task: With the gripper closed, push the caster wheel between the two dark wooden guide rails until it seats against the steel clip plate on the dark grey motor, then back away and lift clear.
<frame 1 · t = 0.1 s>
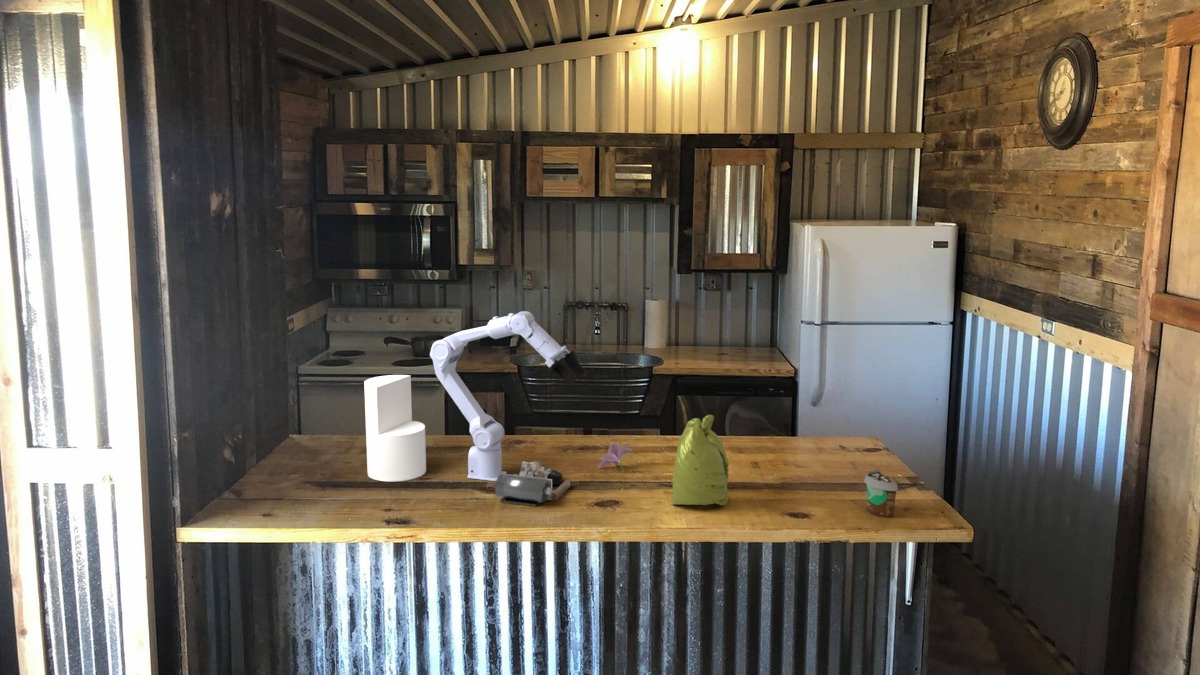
hand: (578, 378, 257), 32 cm above the table, tool tilted 50°, fingers open, 7 cm apart
lily: (615, 470, 278), on the table
caster wheel: (541, 484, 265), on the table
motor mount: (534, 490, 259), on the table
cylinder: (397, 472, 274), on the table
food container: (875, 512, 245), on the table
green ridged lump: (700, 497, 256), on the table
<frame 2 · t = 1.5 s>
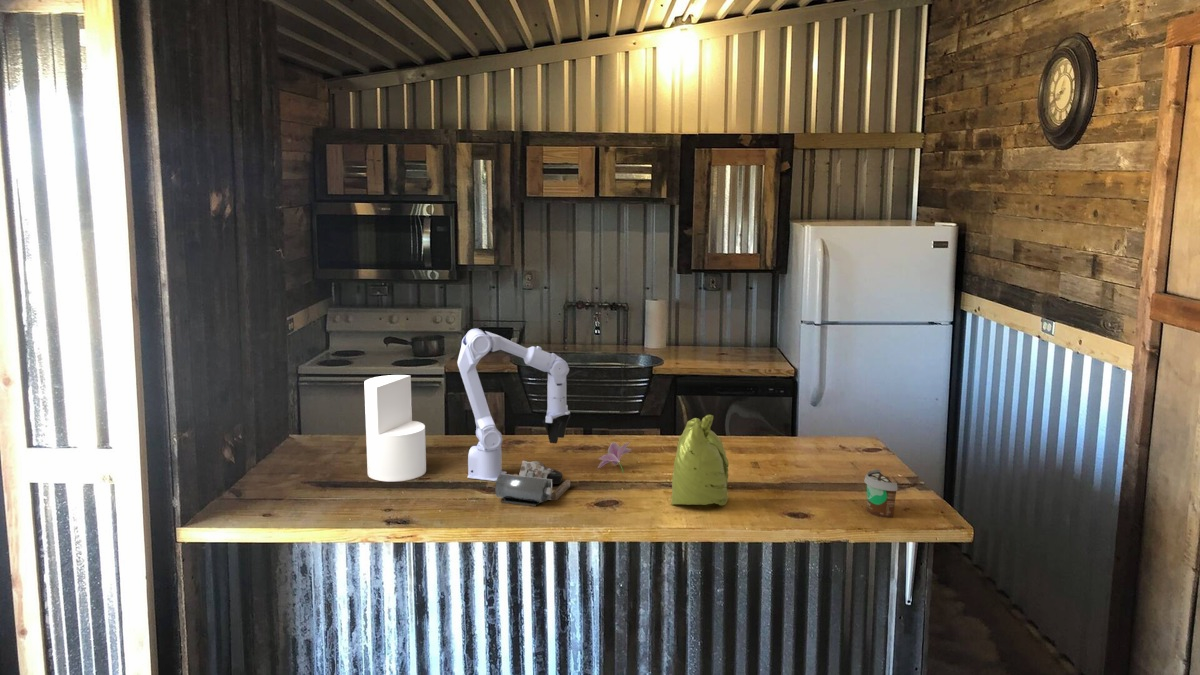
hand: (556, 440, 276), 9 cm above the table, tool pointing down, fingers open, 6 cm apart
nothing on the table moved.
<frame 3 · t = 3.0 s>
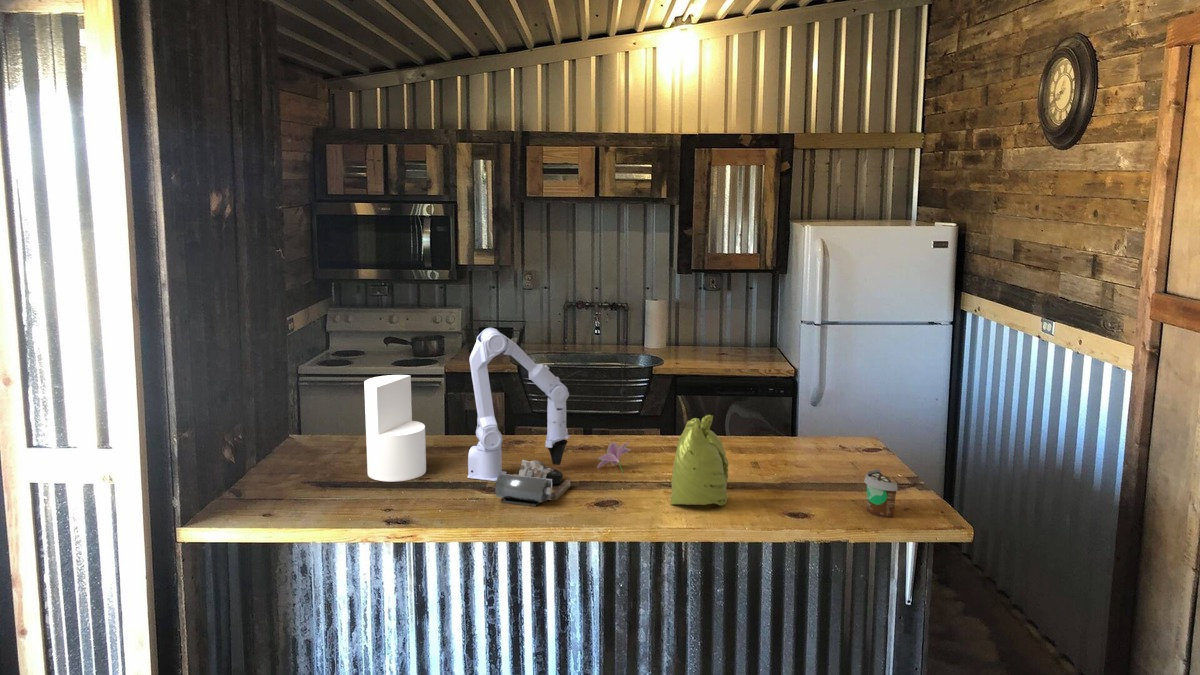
hand: (556, 464, 277), 2 cm above the table, tool pointing down, fingers closed
nothing on the table moved.
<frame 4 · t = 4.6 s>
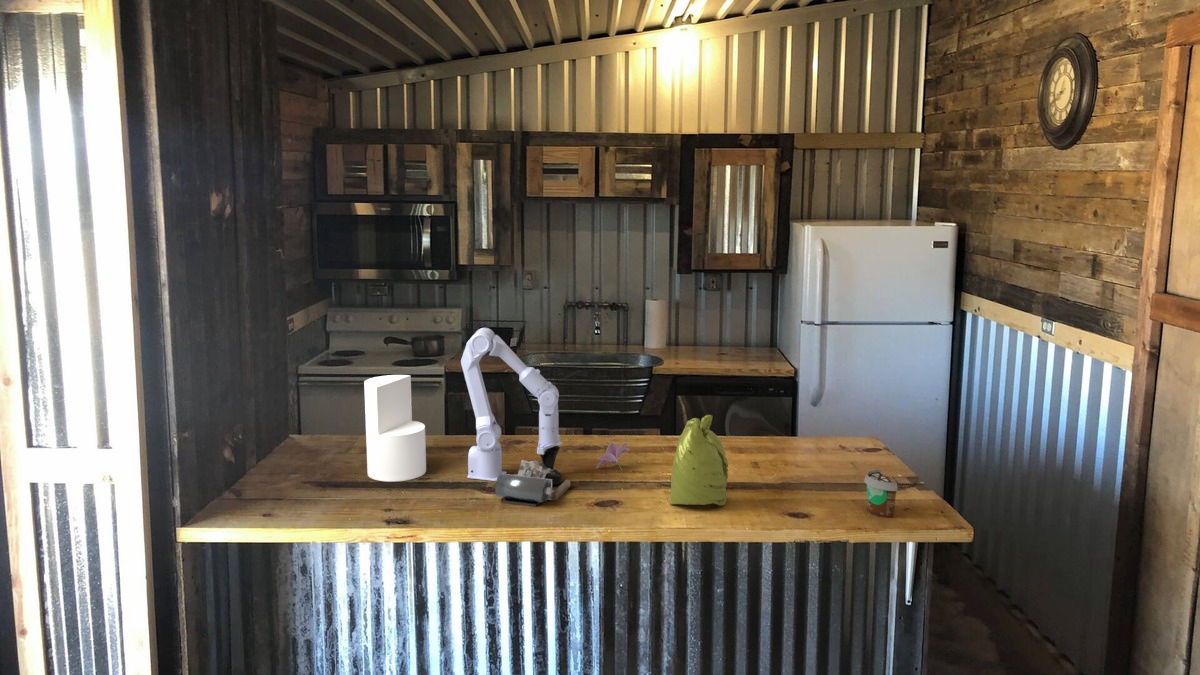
hand: (548, 471, 270), 2 cm above the table, tool pointing down, fingers closed
caster wheel: (541, 483, 265), on the table, touching gripper
everything else where it was.
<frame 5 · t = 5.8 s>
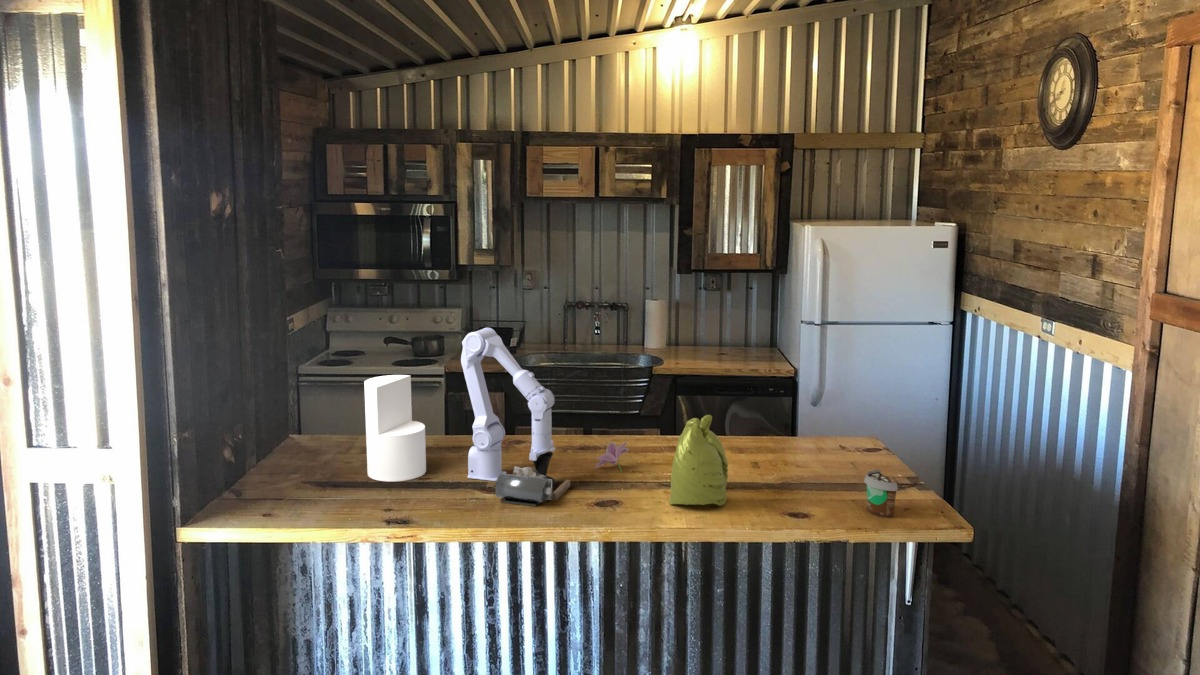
hand: (541, 477, 264), 2 cm above the table, tool pointing down, fingers closed
caster wheel: (534, 490, 260), on the table, touching gripper
everything else where it was.
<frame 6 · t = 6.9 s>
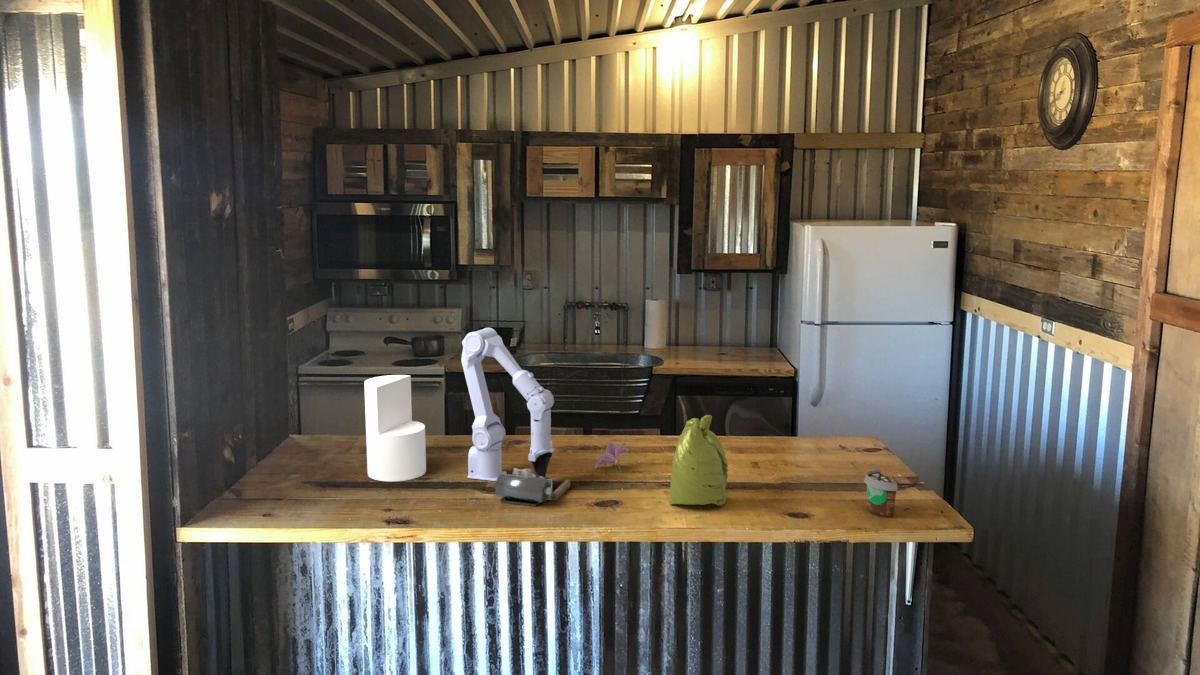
hand: (540, 478, 264), 2 cm above the table, tool pointing down, fingers closed
caster wheel: (534, 492, 259), on the table
everything else where it was.
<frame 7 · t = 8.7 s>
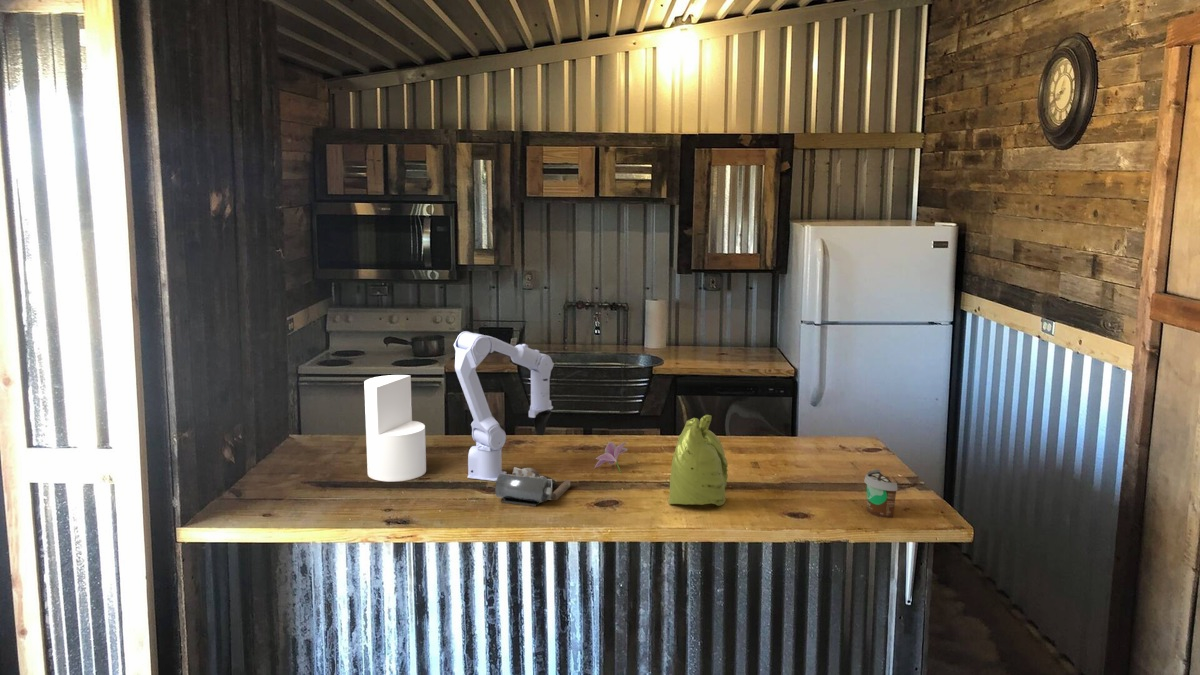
hand: (540, 434, 281), 9 cm above the table, tool pointing down, fingers closed
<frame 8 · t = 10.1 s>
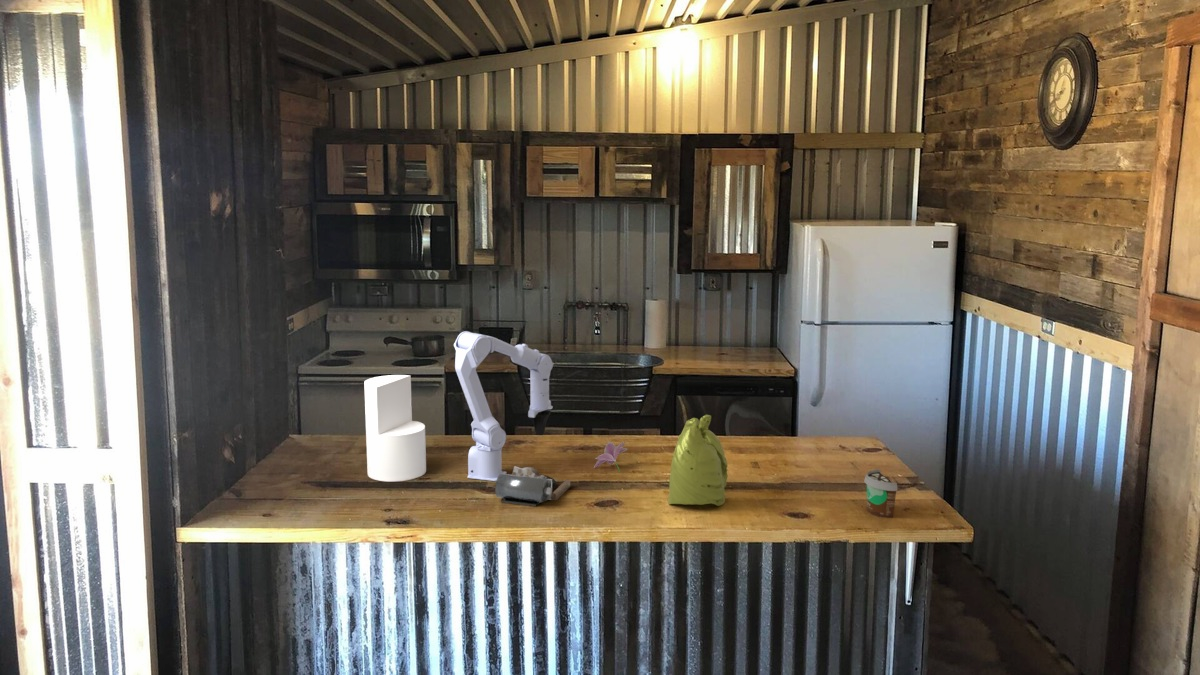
hand: (539, 434, 281), 9 cm above the table, tool pointing down, fingers closed
at the end: caster wheel 1.4 cm from the target spot, on the table; caster wheel tilted 0°; caster wheel moved 5.6 cm from its start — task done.
